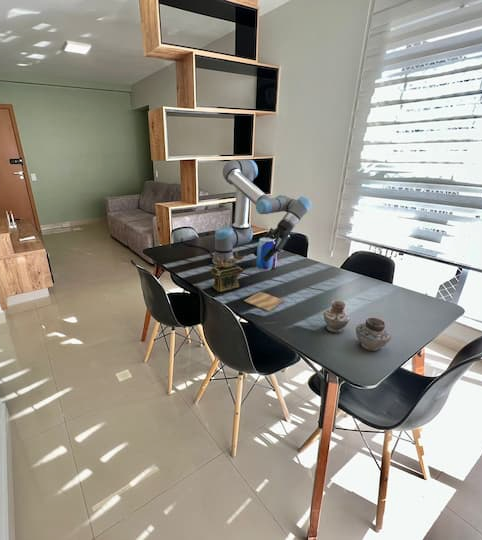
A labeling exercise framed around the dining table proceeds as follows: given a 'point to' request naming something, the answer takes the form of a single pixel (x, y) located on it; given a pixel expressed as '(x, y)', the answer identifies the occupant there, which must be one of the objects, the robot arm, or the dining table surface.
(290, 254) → the dining table surface
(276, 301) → the corner mat
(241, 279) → the dining table surface
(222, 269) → the decorative box
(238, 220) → the robot arm
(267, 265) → the beer can
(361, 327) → the pottery
